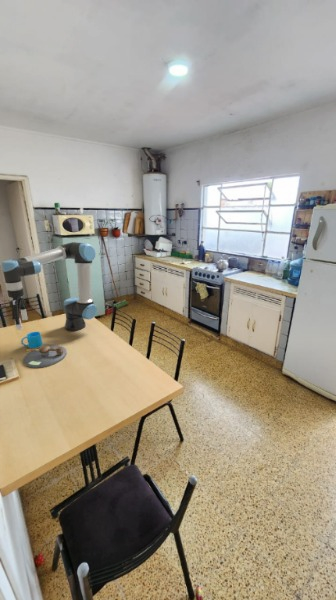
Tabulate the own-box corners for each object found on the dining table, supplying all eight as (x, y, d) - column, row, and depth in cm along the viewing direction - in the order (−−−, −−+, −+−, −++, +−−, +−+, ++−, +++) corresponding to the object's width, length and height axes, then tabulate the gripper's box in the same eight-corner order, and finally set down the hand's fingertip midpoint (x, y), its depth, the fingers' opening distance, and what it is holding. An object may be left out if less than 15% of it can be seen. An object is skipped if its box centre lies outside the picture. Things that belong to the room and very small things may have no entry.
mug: (42, 341, 174) (40, 330, 171) (42, 346, 167) (40, 335, 164) (22, 345, 169) (20, 334, 166) (21, 350, 162) (19, 339, 159)
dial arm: (64, 351, 158) (63, 345, 156) (60, 356, 152) (59, 350, 151) (29, 351, 157) (28, 345, 156) (24, 356, 152) (23, 350, 150)
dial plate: (56, 343, 171) (56, 337, 170) (73, 356, 155) (72, 350, 154) (18, 356, 155) (16, 351, 154) (32, 373, 139) (30, 367, 138)
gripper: (13, 283, 148) (20, 316, 155) (0, 296, 125) (8, 334, 132) (27, 282, 150) (33, 315, 157) (16, 295, 127) (24, 332, 134)
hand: (22, 324), depth 145 cm, fingers open, 13 cm apart
